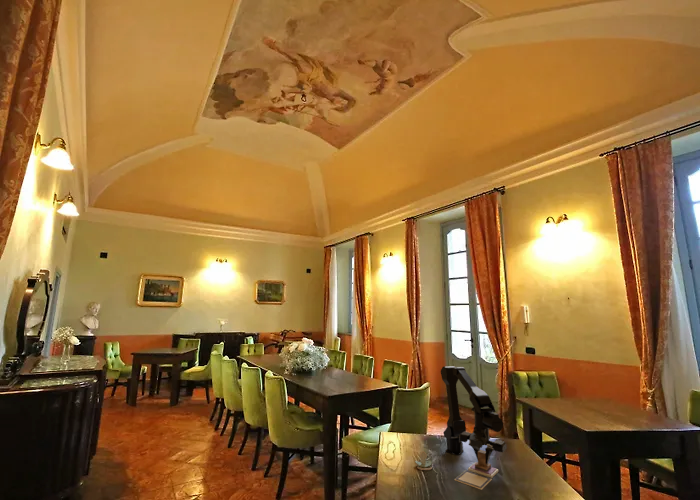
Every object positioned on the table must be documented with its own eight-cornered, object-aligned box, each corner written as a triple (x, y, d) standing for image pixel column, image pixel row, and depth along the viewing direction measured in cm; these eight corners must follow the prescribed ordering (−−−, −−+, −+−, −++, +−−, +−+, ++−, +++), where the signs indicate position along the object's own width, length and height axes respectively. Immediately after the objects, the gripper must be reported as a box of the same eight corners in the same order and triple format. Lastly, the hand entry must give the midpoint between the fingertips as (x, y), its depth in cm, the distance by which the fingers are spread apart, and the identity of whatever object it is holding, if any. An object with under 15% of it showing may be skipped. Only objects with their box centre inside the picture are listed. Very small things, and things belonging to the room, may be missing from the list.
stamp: (474, 468, 151) (474, 451, 152) (479, 464, 155) (478, 448, 156) (486, 471, 148) (486, 455, 149) (490, 467, 152) (490, 451, 153)
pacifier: (434, 471, 150) (430, 464, 156) (434, 455, 151) (430, 449, 157) (417, 471, 150) (413, 464, 156) (417, 456, 151) (414, 449, 156)
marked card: (454, 480, 142) (454, 478, 142) (465, 471, 151) (465, 469, 151) (481, 489, 135) (481, 488, 135) (491, 479, 144) (491, 478, 144)
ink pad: (468, 470, 151) (468, 467, 152) (475, 464, 157) (475, 461, 158) (491, 478, 145) (491, 474, 145) (498, 471, 151) (498, 468, 151)
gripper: (453, 423, 154) (454, 462, 152) (497, 434, 142) (498, 476, 140) (463, 417, 163) (464, 454, 160) (506, 427, 150) (507, 467, 148)
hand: (482, 462), depth 152 cm, fingers closed on stamp, 3 cm apart
